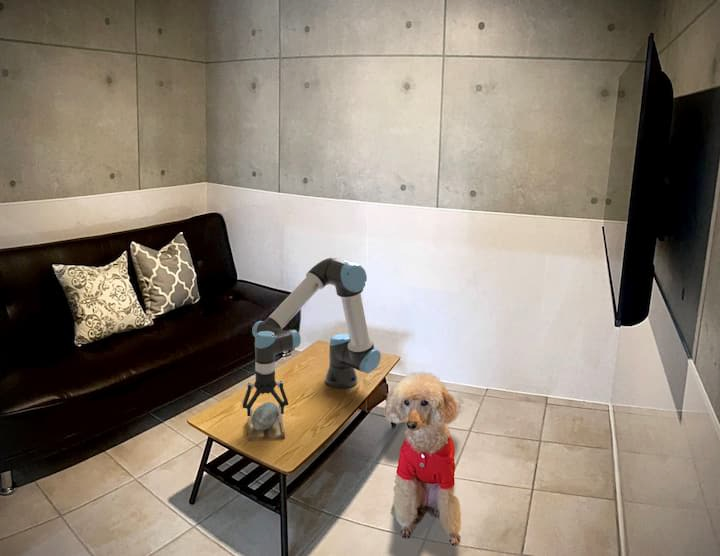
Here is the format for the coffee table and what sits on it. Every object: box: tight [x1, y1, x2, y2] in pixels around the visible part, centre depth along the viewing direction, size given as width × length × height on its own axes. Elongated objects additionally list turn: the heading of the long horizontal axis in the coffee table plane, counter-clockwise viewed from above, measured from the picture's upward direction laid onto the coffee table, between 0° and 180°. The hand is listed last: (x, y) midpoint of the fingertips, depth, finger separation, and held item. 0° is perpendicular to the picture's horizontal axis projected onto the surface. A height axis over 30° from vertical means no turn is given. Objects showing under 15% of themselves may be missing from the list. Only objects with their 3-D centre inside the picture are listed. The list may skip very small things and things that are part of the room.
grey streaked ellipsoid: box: [252, 401, 279, 431], centre depth 243 cm, size 14×10×10 cm
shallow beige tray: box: [246, 414, 286, 442], centre depth 244 cm, size 14×15×2 cm
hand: (265, 421), depth 243 cm, fingers closed on grey streaked ellipsoid, 10 cm apart
